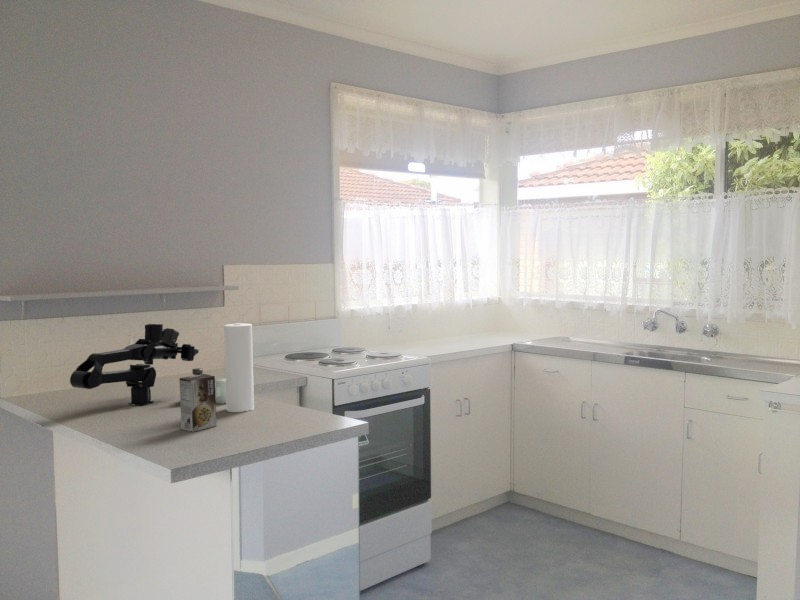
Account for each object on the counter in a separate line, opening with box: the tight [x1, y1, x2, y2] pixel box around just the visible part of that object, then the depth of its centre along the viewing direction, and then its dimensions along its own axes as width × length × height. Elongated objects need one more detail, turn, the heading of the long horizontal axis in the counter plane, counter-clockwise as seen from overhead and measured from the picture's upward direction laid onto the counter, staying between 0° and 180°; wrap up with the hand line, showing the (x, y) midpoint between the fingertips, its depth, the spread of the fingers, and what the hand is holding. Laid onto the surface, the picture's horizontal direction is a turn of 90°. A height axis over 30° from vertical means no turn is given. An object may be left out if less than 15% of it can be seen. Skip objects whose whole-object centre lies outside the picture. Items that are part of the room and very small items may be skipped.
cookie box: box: [179, 373, 218, 433], centre depth 226 cm, size 9×6×16 cm
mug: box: [215, 378, 226, 405], centre depth 265 cm, size 9×7×8 cm
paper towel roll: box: [223, 322, 255, 413], centre depth 252 cm, size 9×9×30 cm
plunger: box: [191, 367, 204, 376], centre depth 267 cm, size 4×4×7 cm
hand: (189, 350), depth 286 cm, fingers open, 9 cm apart
